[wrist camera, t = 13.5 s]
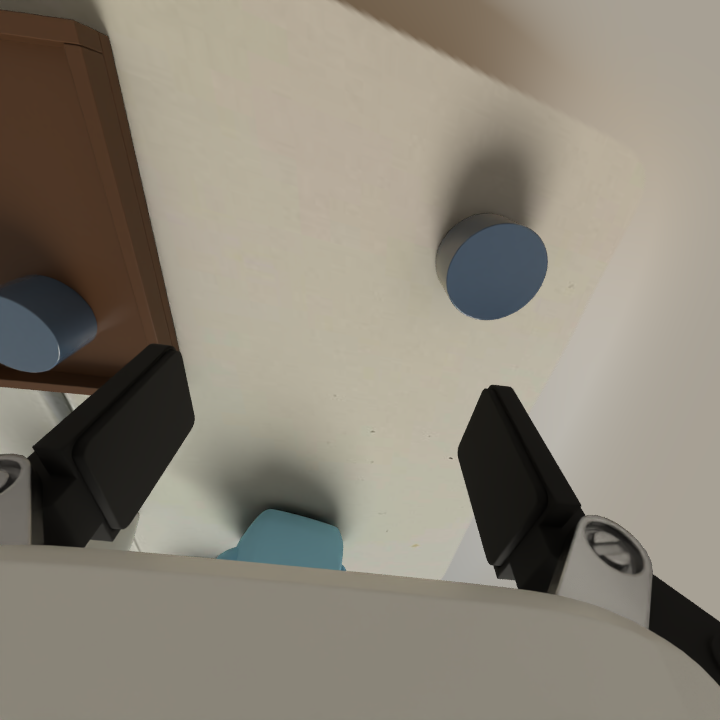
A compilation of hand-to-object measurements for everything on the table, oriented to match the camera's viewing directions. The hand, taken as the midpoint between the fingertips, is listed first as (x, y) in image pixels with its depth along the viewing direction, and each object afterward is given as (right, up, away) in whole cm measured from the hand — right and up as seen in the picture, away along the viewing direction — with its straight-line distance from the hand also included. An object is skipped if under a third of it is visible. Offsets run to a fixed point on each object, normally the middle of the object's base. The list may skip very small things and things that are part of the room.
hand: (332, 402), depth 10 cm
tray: (-20, +9, +11) cm, 25 cm away
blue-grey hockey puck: (+9, +8, +11) cm, 16 cm away
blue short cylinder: (-21, +5, +13) cm, 25 cm away
